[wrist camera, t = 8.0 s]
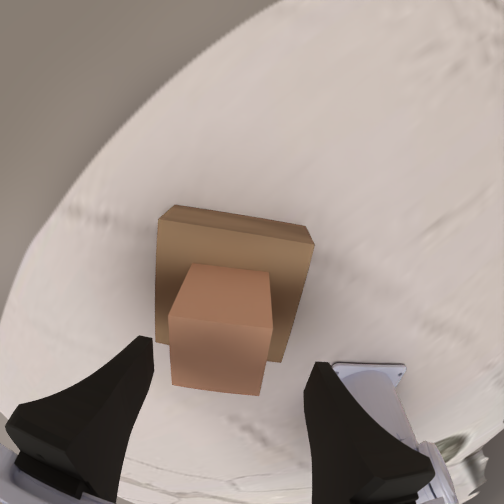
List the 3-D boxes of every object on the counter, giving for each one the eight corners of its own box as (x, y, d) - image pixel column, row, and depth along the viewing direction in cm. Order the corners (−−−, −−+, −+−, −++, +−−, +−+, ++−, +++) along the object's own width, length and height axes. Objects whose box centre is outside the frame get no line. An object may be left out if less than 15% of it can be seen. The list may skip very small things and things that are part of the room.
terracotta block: (258, 333, 19) (259, 395, 14) (190, 324, 19) (172, 384, 14) (268, 271, 18) (273, 328, 12) (192, 262, 17) (168, 315, 12)
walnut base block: (278, 329, 24) (281, 362, 20) (169, 311, 23) (155, 342, 20) (304, 224, 21) (314, 244, 17) (176, 203, 20) (158, 219, 16)
